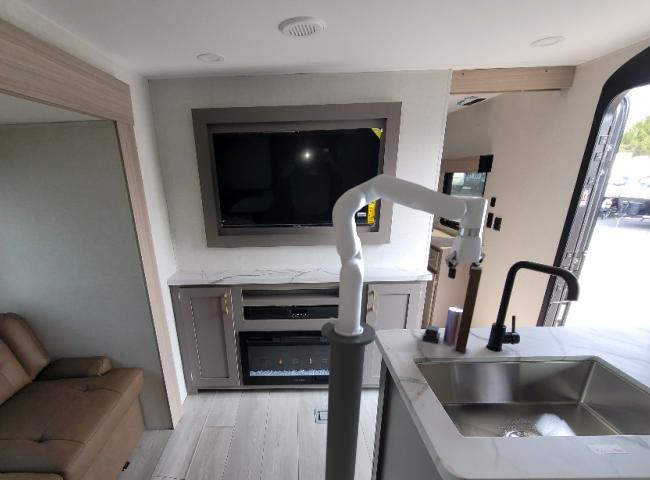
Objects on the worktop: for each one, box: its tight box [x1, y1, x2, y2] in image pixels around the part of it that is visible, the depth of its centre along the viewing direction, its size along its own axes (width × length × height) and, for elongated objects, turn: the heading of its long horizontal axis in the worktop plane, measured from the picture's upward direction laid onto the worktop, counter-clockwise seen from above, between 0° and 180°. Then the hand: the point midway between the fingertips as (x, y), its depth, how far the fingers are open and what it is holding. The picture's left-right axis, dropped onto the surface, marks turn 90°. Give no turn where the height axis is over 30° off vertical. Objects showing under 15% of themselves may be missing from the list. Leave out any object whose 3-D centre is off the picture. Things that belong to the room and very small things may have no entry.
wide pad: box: [422, 329, 441, 344], centre depth 138 cm, size 6×6×2 cm
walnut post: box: [454, 265, 484, 354], centre depth 124 cm, size 4×4×34 cm
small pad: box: [425, 324, 440, 337], centre depth 137 cm, size 4×4×3 cm
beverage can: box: [442, 306, 463, 346], centre depth 133 cm, size 6×6×15 cm
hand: (461, 276), depth 126 cm, fingers open, 9 cm apart
